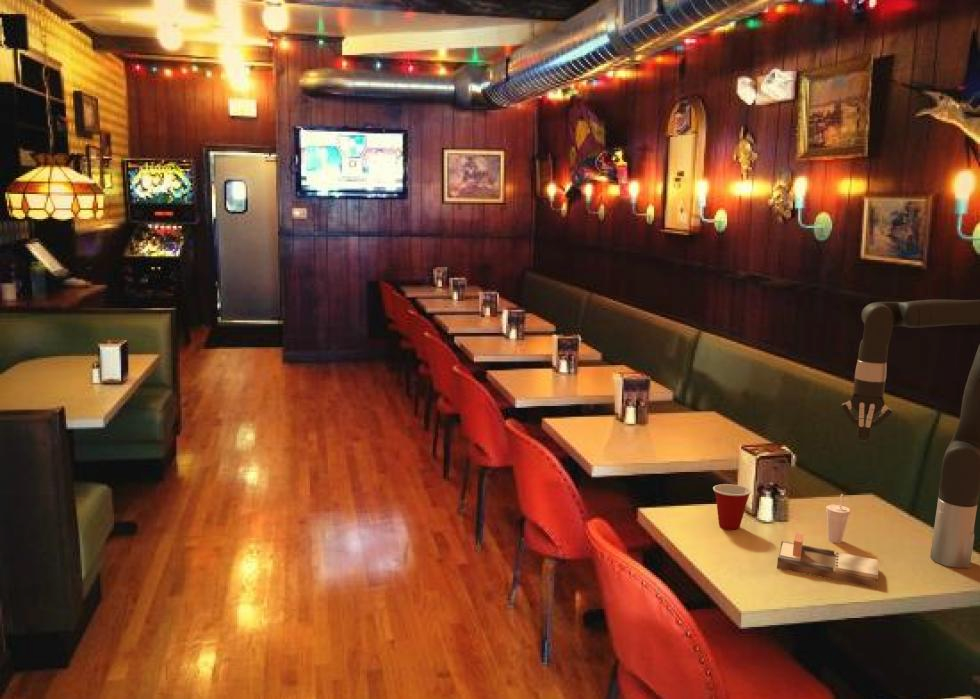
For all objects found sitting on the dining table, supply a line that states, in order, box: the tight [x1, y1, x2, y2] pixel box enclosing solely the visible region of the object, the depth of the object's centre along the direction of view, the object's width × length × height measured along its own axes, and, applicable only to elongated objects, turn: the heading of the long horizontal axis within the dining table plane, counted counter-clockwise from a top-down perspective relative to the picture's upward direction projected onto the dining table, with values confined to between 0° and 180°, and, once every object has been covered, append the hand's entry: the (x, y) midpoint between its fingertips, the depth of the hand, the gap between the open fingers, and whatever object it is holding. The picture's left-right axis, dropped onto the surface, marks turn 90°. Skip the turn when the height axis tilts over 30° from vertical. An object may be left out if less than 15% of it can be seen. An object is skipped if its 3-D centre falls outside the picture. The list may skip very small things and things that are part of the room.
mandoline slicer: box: [776, 540, 879, 589], centre depth 218 cm, size 24×12×3 cm, turn 66°
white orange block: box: [779, 532, 804, 560], centre depth 221 cm, size 5×9×5 cm, turn 156°
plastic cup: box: [712, 483, 752, 531], centre depth 243 cm, size 11×11×12 cm
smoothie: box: [825, 493, 851, 544], centre depth 235 cm, size 6×6×14 cm
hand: (862, 439), depth 224 cm, fingers closed
